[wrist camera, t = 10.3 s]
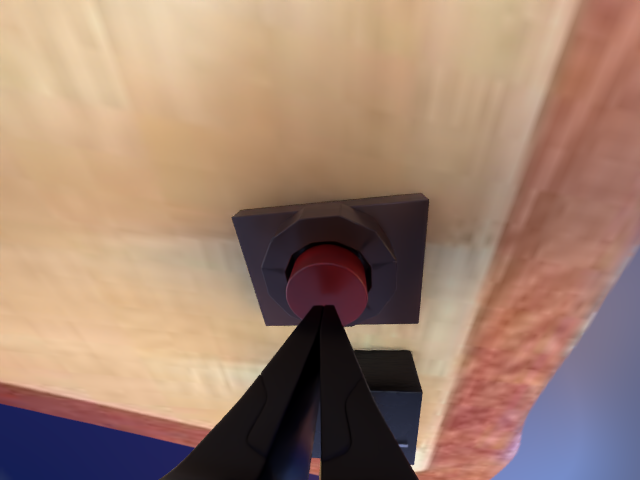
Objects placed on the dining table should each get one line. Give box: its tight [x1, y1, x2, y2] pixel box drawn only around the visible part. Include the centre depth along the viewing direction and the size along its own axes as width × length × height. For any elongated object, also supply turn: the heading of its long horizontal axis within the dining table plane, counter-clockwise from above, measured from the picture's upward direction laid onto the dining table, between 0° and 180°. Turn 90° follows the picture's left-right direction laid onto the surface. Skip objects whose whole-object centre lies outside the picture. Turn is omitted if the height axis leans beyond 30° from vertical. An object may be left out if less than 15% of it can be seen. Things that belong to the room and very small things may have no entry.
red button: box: [286, 244, 368, 326], centre depth 11 cm, size 4×4×2 cm
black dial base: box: [311, 351, 422, 465], centre depth 19 cm, size 10×11×3 cm
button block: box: [232, 193, 429, 327], centre depth 13 cm, size 10×8×3 cm
